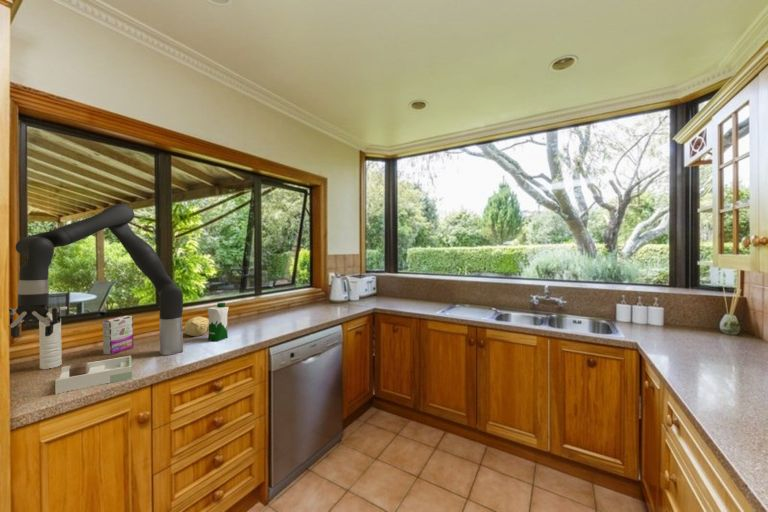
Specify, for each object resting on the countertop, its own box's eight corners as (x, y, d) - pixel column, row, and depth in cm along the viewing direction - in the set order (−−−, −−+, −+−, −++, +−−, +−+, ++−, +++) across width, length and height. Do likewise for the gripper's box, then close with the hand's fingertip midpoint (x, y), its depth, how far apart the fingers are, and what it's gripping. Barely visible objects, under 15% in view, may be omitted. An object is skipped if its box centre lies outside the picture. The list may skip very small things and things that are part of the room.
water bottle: (44, 370, 129) (43, 311, 128) (36, 368, 132) (35, 309, 131) (71, 363, 137) (71, 307, 137) (63, 361, 140) (62, 305, 139)
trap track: (131, 367, 135) (131, 355, 135) (132, 378, 123) (131, 366, 123) (62, 379, 121) (61, 367, 121) (55, 394, 110) (55, 380, 110)
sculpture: (198, 338, 177) (198, 319, 176) (179, 336, 179) (179, 318, 178) (212, 332, 188) (212, 315, 188) (194, 331, 190) (194, 314, 190)
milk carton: (230, 337, 179) (230, 303, 178) (216, 342, 171) (216, 306, 170) (219, 335, 182) (219, 301, 181) (205, 340, 174) (205, 304, 173)
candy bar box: (125, 346, 160) (125, 315, 160) (133, 347, 159) (133, 315, 159) (102, 354, 149) (101, 320, 149) (110, 355, 148) (110, 321, 148)
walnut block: (87, 373, 120) (87, 362, 120) (86, 377, 117) (86, 366, 116) (70, 376, 117) (70, 365, 117) (69, 381, 114) (69, 369, 113)
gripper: (65, 290, 119) (63, 332, 119) (13, 291, 114) (12, 335, 114) (53, 293, 112) (52, 338, 112) (-2, 293, 107) (-4, 340, 107)
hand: (32, 336), depth 113 cm, fingers open, 8 cm apart
